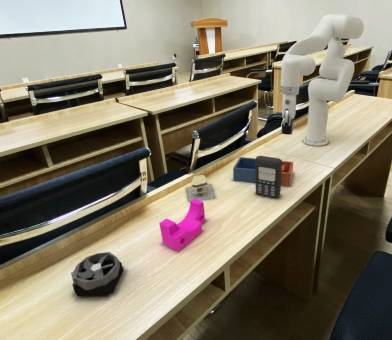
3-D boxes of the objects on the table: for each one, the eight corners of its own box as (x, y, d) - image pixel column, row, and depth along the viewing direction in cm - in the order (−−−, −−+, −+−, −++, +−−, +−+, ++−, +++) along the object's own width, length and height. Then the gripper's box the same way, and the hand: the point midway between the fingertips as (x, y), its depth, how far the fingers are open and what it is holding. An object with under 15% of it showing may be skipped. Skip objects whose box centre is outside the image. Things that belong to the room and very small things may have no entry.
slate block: (282, 130, 137) (283, 120, 135) (292, 131, 136) (293, 121, 134) (281, 133, 133) (281, 123, 131) (291, 134, 132) (292, 124, 130)
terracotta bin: (267, 171, 130) (267, 159, 128) (292, 173, 128) (293, 161, 125) (262, 183, 121) (262, 171, 119) (289, 186, 119) (290, 173, 116)
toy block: (178, 251, 88) (175, 230, 84) (163, 243, 91) (159, 223, 87) (211, 223, 99) (209, 204, 95) (196, 217, 102) (194, 198, 99)
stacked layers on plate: (187, 187, 119) (185, 175, 117) (210, 184, 121) (209, 172, 118) (189, 201, 111) (187, 188, 108) (214, 198, 112) (213, 185, 110)
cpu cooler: (123, 251, 80) (108, 281, 71) (127, 267, 83) (113, 298, 74) (84, 251, 80) (63, 282, 71) (89, 267, 83) (70, 299, 74)
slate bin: (240, 168, 133) (239, 156, 130) (264, 171, 131) (264, 159, 128) (233, 180, 124) (233, 168, 121) (259, 183, 121) (259, 170, 119)
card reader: (254, 195, 114) (253, 158, 107) (257, 189, 117) (257, 154, 110) (277, 200, 111) (279, 162, 104) (281, 194, 114) (282, 157, 107)
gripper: (296, 95, 118) (293, 139, 126) (300, 86, 133) (297, 126, 141) (277, 94, 119) (275, 138, 128) (283, 85, 134) (281, 125, 142)
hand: (287, 131), depth 134 cm, fingers closed on slate block, 4 cm apart
